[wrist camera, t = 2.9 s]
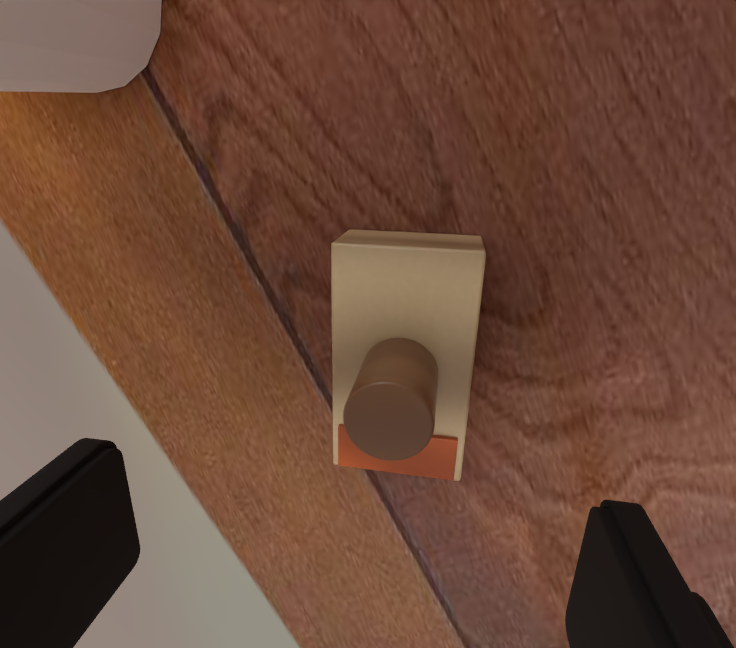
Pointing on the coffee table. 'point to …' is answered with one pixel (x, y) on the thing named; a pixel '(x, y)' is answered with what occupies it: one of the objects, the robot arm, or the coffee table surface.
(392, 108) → the coffee table surface
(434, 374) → the stamp
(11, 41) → the white cylinder
